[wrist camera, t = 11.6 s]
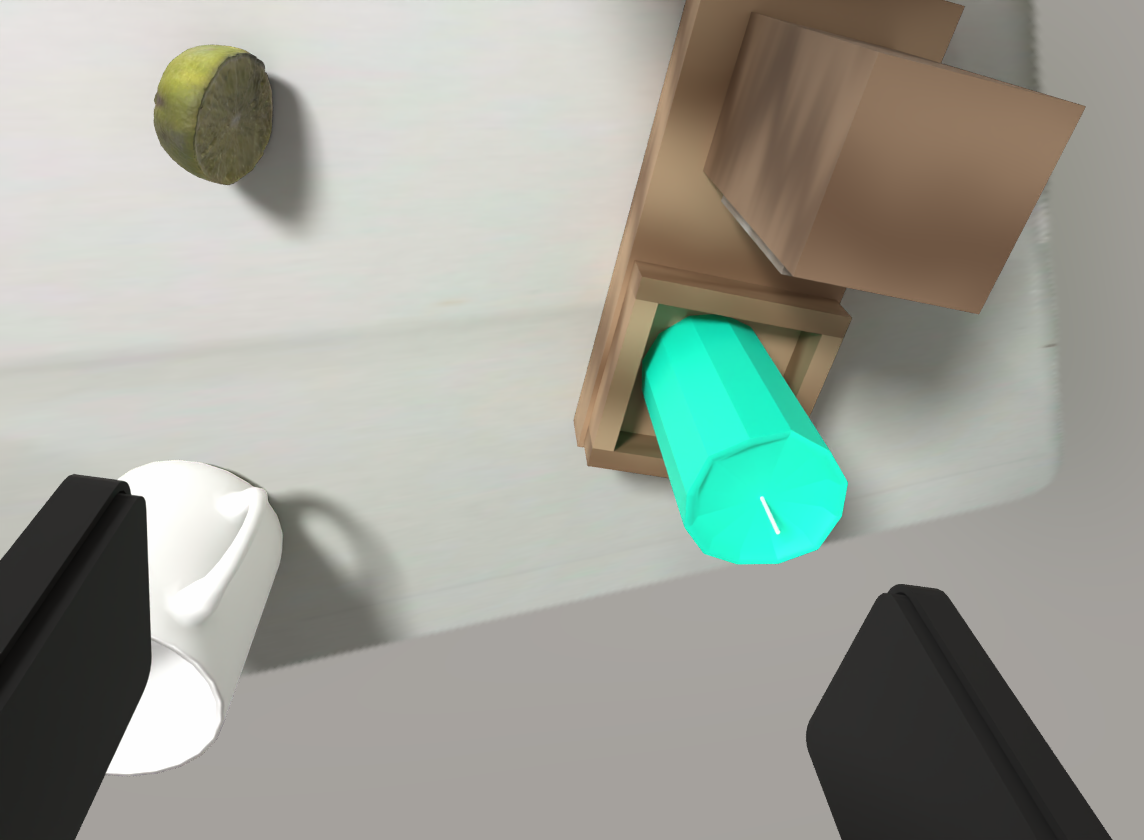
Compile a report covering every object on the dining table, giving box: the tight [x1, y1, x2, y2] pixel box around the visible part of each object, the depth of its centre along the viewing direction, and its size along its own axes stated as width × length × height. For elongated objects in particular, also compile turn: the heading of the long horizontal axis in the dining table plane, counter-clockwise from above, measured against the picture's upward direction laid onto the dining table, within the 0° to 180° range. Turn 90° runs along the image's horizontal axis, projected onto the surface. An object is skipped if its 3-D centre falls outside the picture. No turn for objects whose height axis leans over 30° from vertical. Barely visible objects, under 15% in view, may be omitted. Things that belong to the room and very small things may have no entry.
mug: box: [105, 460, 283, 776], centre depth 38 cm, size 10×12×12 cm
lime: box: [154, 45, 273, 185], centre depth 31 cm, size 4×5×5 cm
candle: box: [642, 314, 848, 564], centre depth 33 cm, size 6×6×12 cm
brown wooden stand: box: [574, 0, 1085, 478], centre depth 31 cm, size 22×10×14 cm, turn 167°
